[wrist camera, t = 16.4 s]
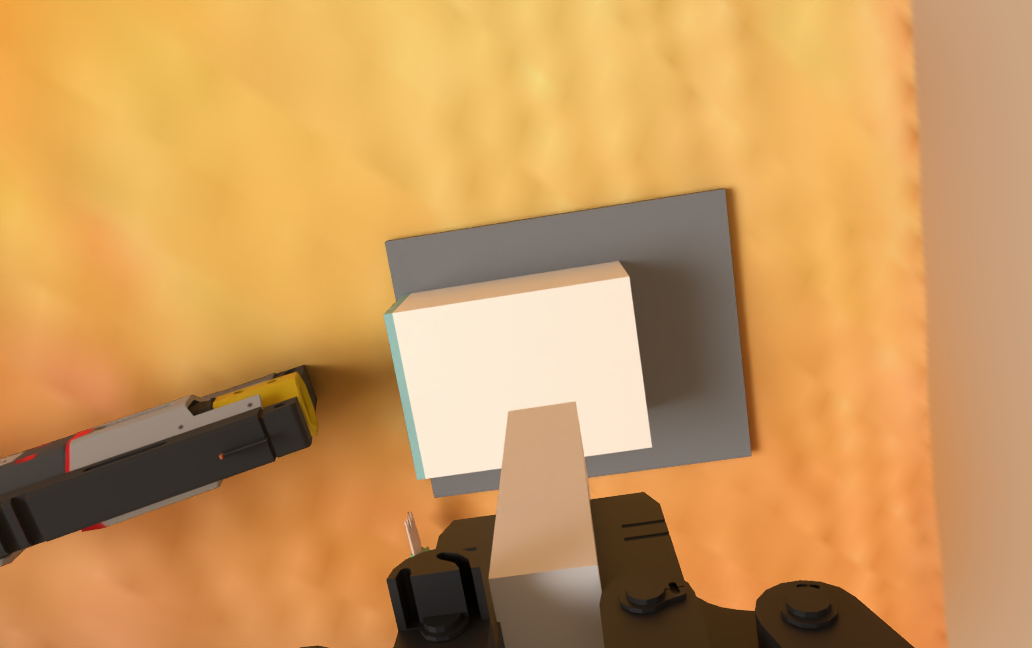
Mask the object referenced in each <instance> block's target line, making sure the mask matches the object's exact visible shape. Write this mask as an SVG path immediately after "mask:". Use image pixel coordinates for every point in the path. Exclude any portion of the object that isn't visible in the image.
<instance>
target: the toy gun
mask: <svg viewBox="0 0 1032 648" xmlns="http://www.w3.org/2000/svg"><path fill="white" fill-rule="evenodd" d="M316 403H317V398H316V395H315V393H314V390H313V387H312V384H311V382H310V379H309V376H308V374H307V371H306V368H305V365H302V366H299V367H296V368H293V369H290V370H287V371H284V372H281V373H278V374H275V373H273V374H270V375H268V376H266V377H263V378H260V379H256V380H253V381H250V382H248V383H245V384H242V385H239V386H235V387H232V388H230V389H227V390H224V391H221V392H216V393H213V394H210V395H207V396H204V397H201V398H200V397H197V396H195V395H189V396H186V397H183V398H180V399H177V400H174V401H171V402H168V403H165V404H162V405H159V406H156V407H153V408H150V409H147V410H144V411H141V412H138V413H135V414H132V415H129V416H126V417H123V418H120V419H117V420H114V421H111V422H108V423H105V424H102V425H99V426H96V427H93V428H90V429H87V430H84V431H81V432H78V433H77V434H74V435H71V436H68V437H65V438H62V439H59V440H56V441H53V442H50V443H47V444H44V445H41V446H38V447H35V448H32V449H29V450H26V451H23V452H20V453H17V454H14V455H11V456H8V457H5V458H2V459H0V567H1V566H4V565H6V564H9V563H11V562H12V561H13V560H14V559H15V558H16V557H17V556H18V555H19V554H20V553H21V552H22V551H23V550H25V549H26V548H28V547H31V546H33V545H36V544H39V543H42V542H44V541H50V540H53V539H56V538H59V537H61V536H64V535H67V534H70V533H73V532H76V531H78V530H82V532H83V531H89V530H95V529H101V528H105V527H108V526H111V525H113V524H116V523H119V522H122V521H125V520H127V519H130V518H133V517H136V516H139V515H142V514H144V513H147V512H150V511H153V510H156V509H158V508H161V507H164V506H167V505H170V504H173V503H175V502H178V501H181V500H184V499H187V498H189V497H192V496H195V495H198V494H201V493H204V492H206V491H209V490H212V489H215V488H218V487H220V485H221V483H222V481H223V479H225V478H228V477H231V476H234V475H237V474H239V473H242V472H245V471H248V470H251V469H254V468H256V467H259V466H262V465H265V464H268V463H271V462H273V461H275V459H276V457H278V458H279V457H282V456H284V455H287V454H290V453H293V452H296V451H299V450H301V449H304V448H307V447H309V446H310V445H311V443H312V436H315V435H317V431H318V423H317V419H316V415H315V411H316Z"/></svg>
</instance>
